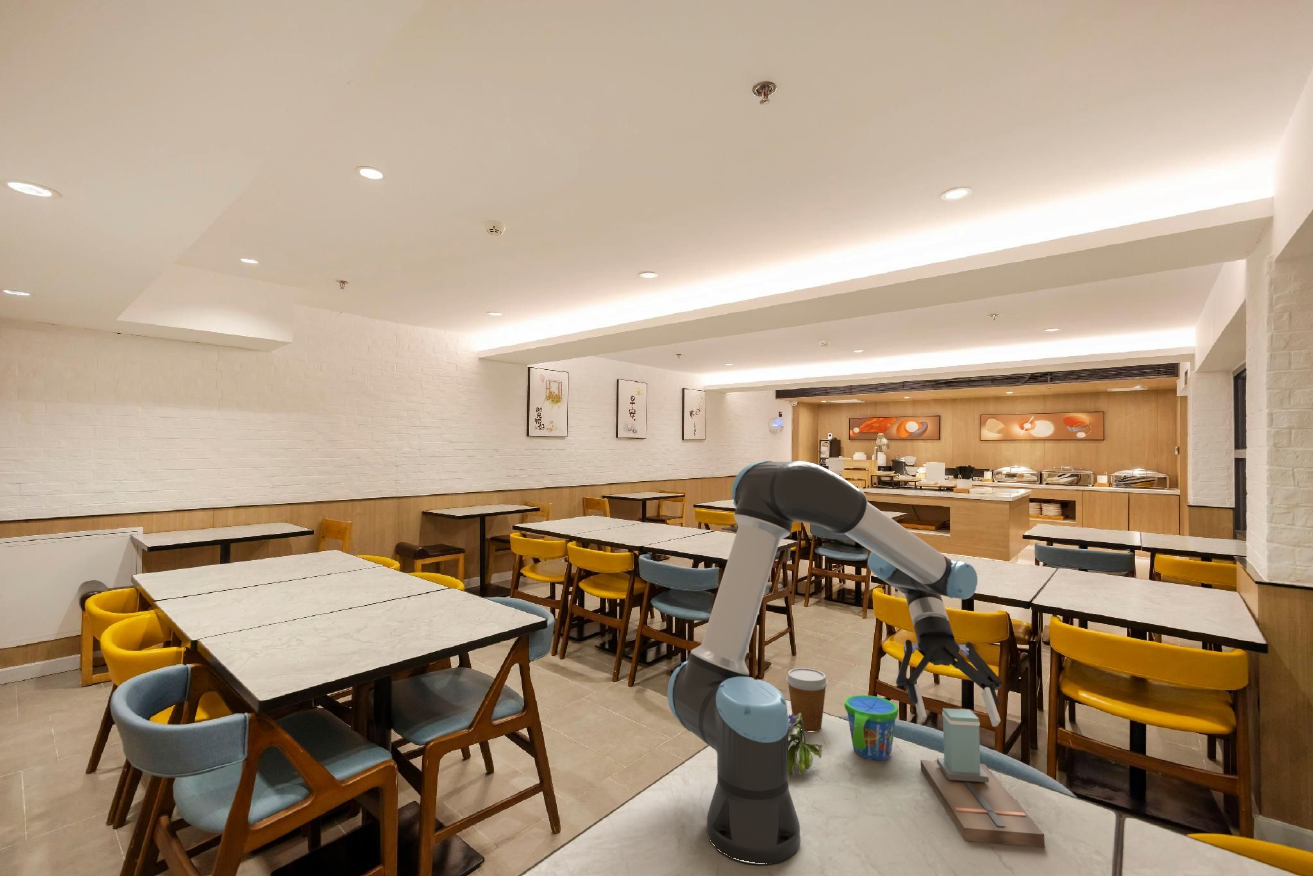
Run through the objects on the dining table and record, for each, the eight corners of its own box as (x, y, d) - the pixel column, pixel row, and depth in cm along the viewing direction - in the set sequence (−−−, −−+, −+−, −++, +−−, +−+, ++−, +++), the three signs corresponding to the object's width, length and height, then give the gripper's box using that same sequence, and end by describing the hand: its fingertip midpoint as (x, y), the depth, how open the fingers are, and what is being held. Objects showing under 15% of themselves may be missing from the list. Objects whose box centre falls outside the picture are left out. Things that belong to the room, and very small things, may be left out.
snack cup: (865, 733, 131) (864, 687, 131) (911, 749, 123) (910, 700, 124) (830, 756, 120) (829, 707, 120) (879, 776, 112) (878, 722, 113)
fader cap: (948, 779, 106) (946, 718, 107) (937, 763, 112) (935, 705, 113) (988, 782, 105) (986, 721, 106) (975, 765, 111) (973, 707, 112)
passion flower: (774, 785, 119) (762, 722, 126) (826, 778, 118) (811, 715, 125) (772, 777, 110) (759, 710, 117) (829, 769, 109) (812, 702, 117)
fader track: (964, 840, 93) (964, 826, 93) (920, 770, 114) (920, 758, 115) (1044, 847, 91) (1044, 832, 91) (984, 774, 113) (984, 763, 113)
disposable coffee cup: (830, 737, 128) (829, 683, 129) (787, 733, 130) (786, 679, 131) (826, 719, 138) (825, 668, 138) (786, 716, 140) (785, 666, 140)
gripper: (985, 634, 129) (1021, 733, 113) (870, 630, 132) (889, 725, 116) (995, 616, 124) (1034, 717, 108) (875, 612, 127) (896, 710, 111)
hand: (959, 721), depth 112 cm, fingers open, 13 cm apart
